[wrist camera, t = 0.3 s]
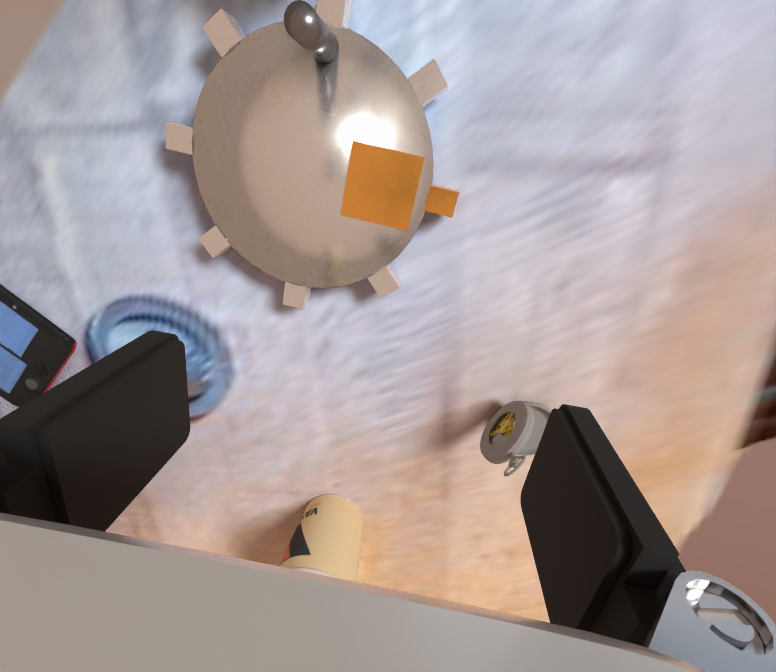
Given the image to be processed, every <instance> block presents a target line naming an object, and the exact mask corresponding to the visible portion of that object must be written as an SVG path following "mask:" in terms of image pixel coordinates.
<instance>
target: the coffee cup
mask: <svg viewBox="0 0 776 672" xmlns="http://www.w3.org/2000/svg"><path fill="white" fill-rule="evenodd" d="M362 532H363V515H362V512H361V510H360V509H359V507H358V506H357V505H356V504H355V503H354V502H352V501H351V500H349V499H347V498H345V497H342V496H339V495H332V494H328V495H321V496H318V497H316V498H314V499H313V500H312V501H311V502H310V503H309V504H308V506H307V507H306V509H305V511H304V513H303V515H302V518H301V520H300V522H299V524H298V526H297V528H296V530H295V533H294V535H293V537H292V539H291V541H290V543H289V545H288V548H287V550H286V552H285V554H284V556H283V558H282V561H281V563H280V565H279V566H280V567H285V568H290V569H295V570H300V571H305V572H310V573H315V574H320V575H325V576H330V577H334V578H339V579H344V580H349V581H354V582H357V575H358V567H359V558H360V549H361V541H362Z"/></svg>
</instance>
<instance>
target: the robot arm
mask: <svg viewBox="0 0 776 672" xmlns="http://www.w3.org/2000/svg"><path fill="white" fill-rule="evenodd" d="M189 432H190V417H189V402H188V388H187V373H186V359H185V347H184V344H183V342H182V341H179V339H178V337H177V336H176V335H175V334H170V333H165V332H159V331H153V330H151V331H148V332H146V333H145V334H143V335H141V336H140V337H138V338H136V339H135V340H133V341H131V342H130V343H128V344H126V345H124V346H123V347H121V348H119V349H118V350H116V351H114V352H113V353H111V354H109V355H108V356H106V357H104V358H102V359H101V360H99V361H97V362H96V363H94V364H92V365H91V366H89V367H87V368H85V369H84V370H82V371H80V372H79V373H77V374H75V375H74V376H72V377H70V378H69V379H67V380H65V381H63V382H62V383H60V384H58V385H57V386H55V387H53V388H52V389H50V390H48V391H47V392H45V393H43V394H41V395H40V396H38V397H36V398H35V399H33V400H31V401H30V402H28V403H26V404H24V405H23V406H21V407H19V408H18V409H16V410H14V411H13V412H11V413H9V414H8V415H6V416H4V417H2V418H1V419H0V672H776V625H775V624H774V622H773V621H772V620H771V619H770V617H769V616H768V615H767V614H766V612H765V611H764V610H763V609H762V608H760V607H759V606H758V605H757V604H756V603H755V602H754V601H753V600H752V599H751V598H750V597H748V596H747V595H746V594H744V593H743V592H741V591H740V590H738V589H737V588H736V587H734V586H733V585H731V584H729V583H727V582H725V581H724V580H722V579H720V578H718V577H715V576H713V575H710V574H707V573H704V572H698V571H687V572H686V570H685V569H684V567H683V565H682V564H681V562H680V561H679V559H678V556H679V553H678V551H677V549H676V548H675V546H674V545H673V543H672V541H671V540H670V538H669V537H668V535H667V533H666V532H665V530H664V529H663V527H662V525H661V524H660V522H659V521H658V519H657V517H656V516H655V514H654V512H653V511H652V509H651V508H650V506H649V504H648V503H647V501H646V500H645V498H644V496H643V495H642V493H641V492H640V490H639V488H638V487H637V485H636V484H635V482H634V480H633V479H632V477H631V476H630V474H629V472H628V471H627V469H626V468H625V466H624V464H623V463H622V461H621V460H620V458H619V456H618V455H617V453H616V452H615V450H614V448H613V447H612V445H611V443H610V442H609V440H608V439H607V437H606V435H605V434H604V432H603V431H602V429H601V427H600V426H599V424H598V423H597V421H596V419H595V418H594V416H593V415H592V413H591V411H590V410H589V409H587V408H582V407H576V406H571V405H565V404H563V405H561V407H560V408H559V409H553V410H552V411H551V413H550V416H549V418H548V421H547V424H546V426H545V429H544V432H543V435H542V437H541V440H540V443H539V445H538V448H537V451H536V453H535V456H534V459H533V462H532V464H531V467H530V470H529V472H528V475H527V478H526V480H525V483H524V486H523V489H522V492H521V508H522V512H523V516H524V520H525V524H526V528H527V532H528V536H529V540H530V544H531V548H532V552H533V556H534V560H535V564H536V568H537V572H538V576H539V580H540V584H541V588H542V592H543V596H544V600H545V604H546V608H547V612H548V616H549V620H550V623H548V622H543V621H539V620H534V619H530V618H525V617H521V616H517V615H512V614H508V613H503V612H499V611H494V610H489V609H484V608H480V607H475V606H470V605H465V604H460V603H455V602H451V601H446V600H441V599H436V598H431V597H427V596H422V595H417V594H412V593H407V592H403V591H398V590H393V589H388V588H383V587H378V586H374V585H369V584H364V583H359V582H354V581H349V580H344V579H339V578H334V577H330V576H325V575H320V574H315V573H310V572H305V571H300V570H295V569H290V568H285V567H280V566H275V565H270V564H265V563H260V562H255V561H250V560H245V559H240V558H235V557H230V556H225V555H220V554H215V553H210V552H205V551H200V550H195V549H190V548H185V547H180V546H175V545H170V544H165V543H160V542H154V541H149V540H144V539H139V538H134V537H129V536H124V535H119V534H113V533H108V532H105V531H106V530H107V529H108V527H109V526H110V525H111V524H112V523H113V522H114V521H115V520H116V519H117V517H118V516H119V515H120V514H121V513H122V512H123V511H124V510H125V508H126V507H127V506H128V505H129V504H130V503H131V502H132V501H133V500H134V498H135V497H136V496H137V495H138V494H139V493H140V492H141V491H142V489H143V488H144V487H145V486H146V485H147V484H148V483H149V482H150V481H151V479H152V478H153V477H154V476H155V475H156V474H157V473H158V472H159V470H160V469H161V468H162V467H163V466H164V465H165V464H166V463H167V462H168V460H169V459H170V458H171V457H172V456H173V455H174V454H175V453H176V451H177V450H178V449H179V448H180V447H181V446H182V445H183V444H184V442H185V441H186V440H187V438H188V436H189Z"/></svg>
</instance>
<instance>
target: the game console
mask: <svg viewBox="0 0 776 672" xmlns="http://www.w3.org/2000/svg"><path fill="white" fill-rule="evenodd" d="M75 348H76V341H75V340H74V339H73V338H72V337H71V336H69V335H68V334H67V333H65V332H64V331H63V330H61V329H60V328H59V327H57V326H56V325H55V324H53V323H52V322H50V321H49V320H48V319H46V318H45V317H44V316H42V315H41V314H40V313H38V312H37V311H36V310H34V309H33V308H32V307H30V306H29V305H27V304H26V303H25V302H23V301H22V300H21V299H19V298H18V297H17V296H15V295H14V294H13V293H11V292H10V291H8V290H7V289H6V288H5V287H3V286H2V285H0V396H1V397H3V398H4V399H5V400H7V401H8V402H10V403H12V404H13V405H16V406H19V407H21V406H23V405H24V404H26V403H28V402H30V401H31V400H33V399H35V398H36V397H38V396H40V395H41V394H43V393H45V392H47V390H48V389H49V387H50V386H51V384H52V383H53V381H54V380H55V378H56V377H57V375H58V374H59V372H60V371H61V369H62V368H63V366H64V365H65V363H66V362H67V361H68V359H69V358H70V356H71V355H72V353H73V352H74V350H75Z"/></svg>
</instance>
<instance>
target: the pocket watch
mask: <svg viewBox="0 0 776 672" xmlns="http://www.w3.org/2000/svg"><path fill="white" fill-rule="evenodd" d="M550 413H551V410H549V409H548V408H547V407H545V406H543V405H541V404H538V403H533V402H520V401H513V402H511V403H508V404H506V405H505V406H503V407H502V408H500V409H499V410H498V411H497V412H496V413H495V414H494V415H493V417H492V418H491V419H490V421H489V422H488V424H487V425H486V427H485V429H484V432H483V434H482V437H481V442H480V449H481V453H482V454H483V456H484V457H485V458H486V459H487V460H488V461H489V462H491V463H494V464H501V463H504V462H506V461H508V460H510V459H511V460H510V461H509V466H508V467H507V469H506V470H505V472H504V476H509V475H511V474H512V473H514V472H515V471H516V470H517V469H518V468H519V467H520V466H521V465H522V464H523V463H524V461H525V459H526V457H525V456H526V455H534V454H535V453H536V451H537V448H538V445H539V443H540V440H541V437H542V435H543V432H544V429H545V426H546V424H547V421H548V418H549V416H550ZM516 455H523V456H521V457H519V456H516ZM521 459H522V461H521ZM520 461H521V462H520ZM511 467H514V468H515V469H514V470H512V471H511V472H509V473H507V472H508V470H509V469H510V468H511Z"/></svg>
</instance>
